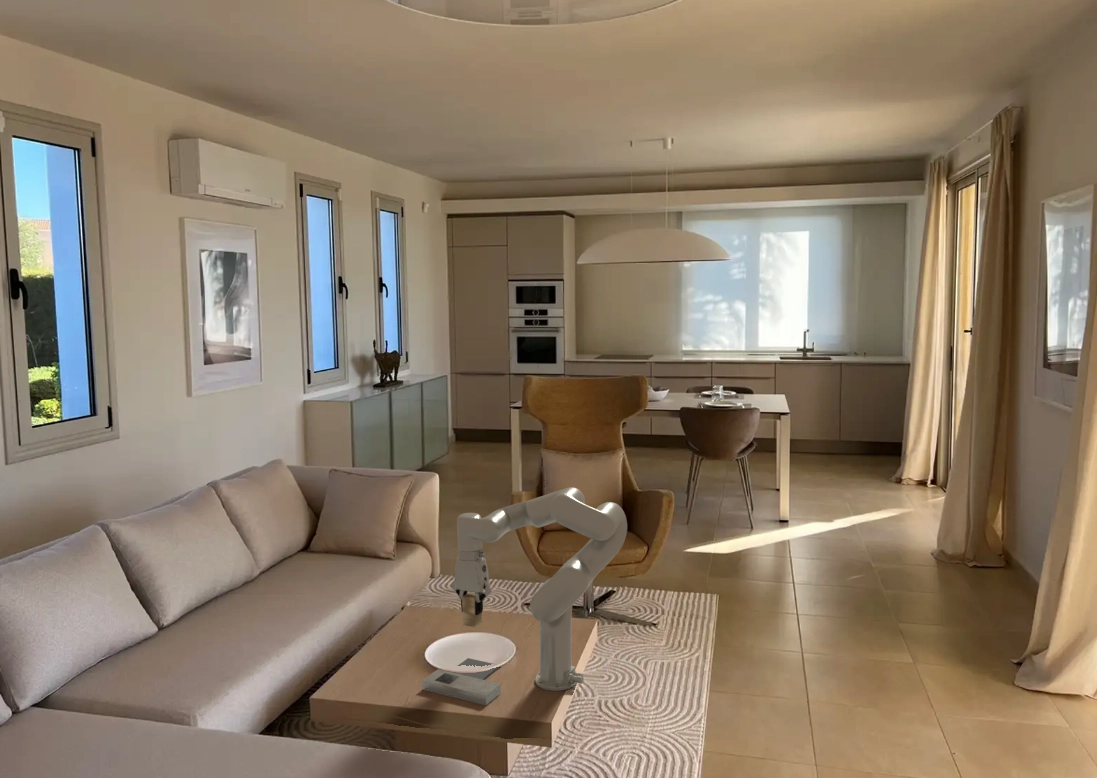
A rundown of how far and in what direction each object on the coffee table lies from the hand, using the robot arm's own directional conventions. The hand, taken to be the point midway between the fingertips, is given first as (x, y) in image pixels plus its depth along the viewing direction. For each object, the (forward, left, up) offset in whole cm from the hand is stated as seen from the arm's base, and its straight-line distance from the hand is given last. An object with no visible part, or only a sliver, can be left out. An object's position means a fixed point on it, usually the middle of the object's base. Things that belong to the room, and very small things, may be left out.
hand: (472, 611), depth 257 cm
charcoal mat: (0, 0, -19) cm, 19 cm away
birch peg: (0, 0, -4) cm, 4 cm away
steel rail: (-4, +13, -19) cm, 23 cm away
